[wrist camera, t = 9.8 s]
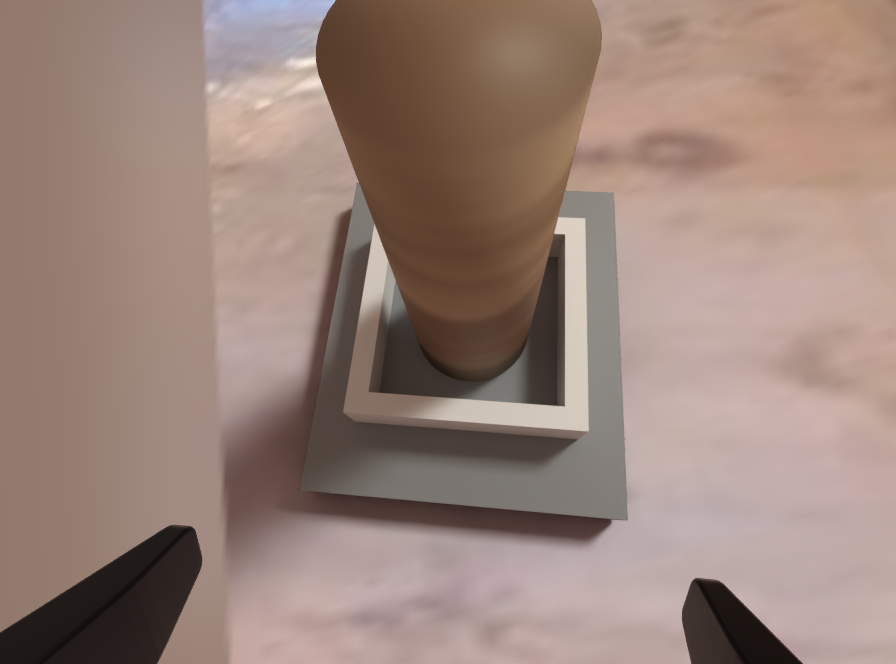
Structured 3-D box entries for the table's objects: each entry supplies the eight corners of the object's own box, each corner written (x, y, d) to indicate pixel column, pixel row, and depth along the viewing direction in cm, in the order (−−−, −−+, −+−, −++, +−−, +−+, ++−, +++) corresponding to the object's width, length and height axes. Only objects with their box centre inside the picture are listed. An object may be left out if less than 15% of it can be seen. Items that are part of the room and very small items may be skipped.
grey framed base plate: (618, 520, 18) (644, 520, 15) (309, 491, 19) (281, 487, 16) (607, 208, 23) (625, 166, 20) (362, 198, 24) (347, 156, 21)
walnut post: (526, 385, 19) (605, 152, 7) (411, 377, 19) (289, 145, 7) (530, 280, 20) (598, -60, 8) (423, 275, 21) (341, -56, 9)
